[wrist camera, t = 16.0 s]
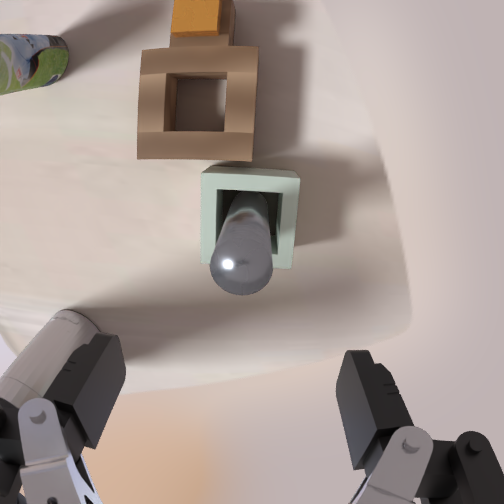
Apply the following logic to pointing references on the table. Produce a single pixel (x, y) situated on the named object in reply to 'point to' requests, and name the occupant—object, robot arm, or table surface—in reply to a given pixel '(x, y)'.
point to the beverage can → (30, 61)
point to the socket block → (198, 67)
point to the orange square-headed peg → (196, 18)
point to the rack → (250, 180)
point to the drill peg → (244, 246)
